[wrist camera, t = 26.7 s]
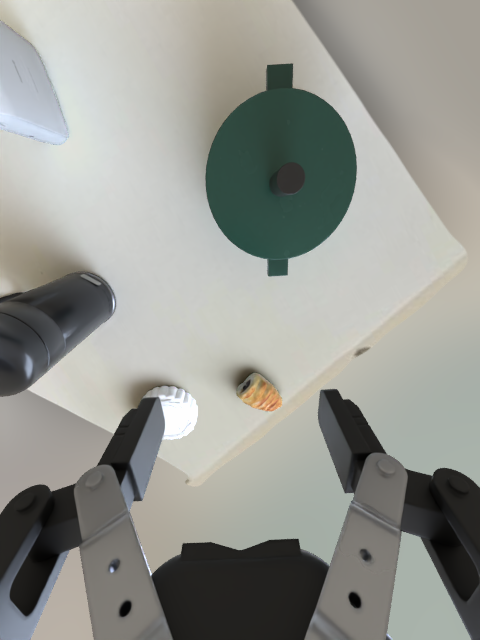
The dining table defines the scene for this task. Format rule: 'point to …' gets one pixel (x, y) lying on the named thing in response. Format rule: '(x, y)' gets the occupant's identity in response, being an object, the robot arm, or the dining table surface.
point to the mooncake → (176, 410)
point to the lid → (281, 173)
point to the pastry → (259, 393)
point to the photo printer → (27, 92)
